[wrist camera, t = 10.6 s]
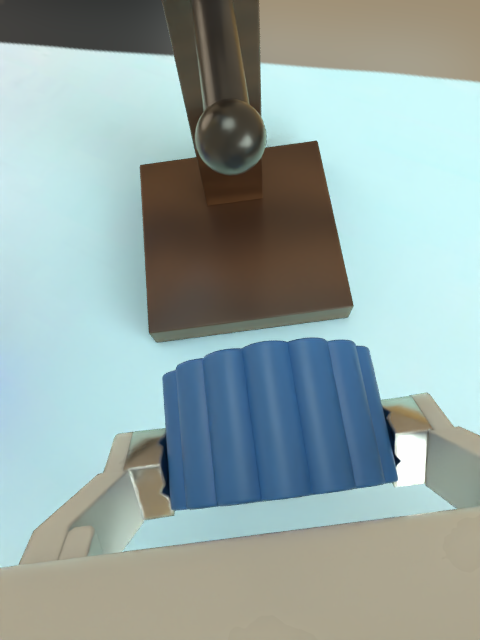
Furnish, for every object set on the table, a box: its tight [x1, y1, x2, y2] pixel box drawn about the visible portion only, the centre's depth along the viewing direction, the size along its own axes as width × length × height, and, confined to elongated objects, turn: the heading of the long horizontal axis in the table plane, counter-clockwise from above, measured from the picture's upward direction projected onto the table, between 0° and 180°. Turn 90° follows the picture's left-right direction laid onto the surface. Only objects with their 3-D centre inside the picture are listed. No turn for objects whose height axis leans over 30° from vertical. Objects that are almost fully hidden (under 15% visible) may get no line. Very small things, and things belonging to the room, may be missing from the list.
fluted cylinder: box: [162, 338, 399, 511], centre depth 13 cm, size 3×6×6 cm, turn 97°
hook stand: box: [140, 0, 353, 342], centre depth 17 cm, size 10×10×17 cm
